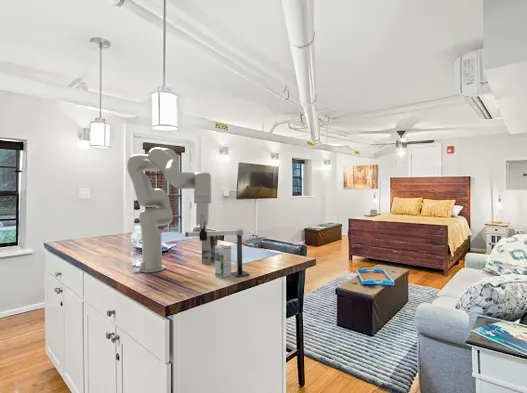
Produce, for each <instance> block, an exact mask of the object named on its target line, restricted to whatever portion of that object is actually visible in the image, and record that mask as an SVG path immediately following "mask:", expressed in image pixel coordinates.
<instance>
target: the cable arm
mask: <svg viewBox="0 0 527 393" xmlns="http://www.w3.org/2000/svg"><path fill="white" fill-rule="evenodd" d="M206 231H207V236H217V237H218V236H237V235H242V236H243V235H244V229H231V230H230V229H228V230H226V229H225V230H206ZM199 232H200V230H199V231H185V234H184V235H185V238H189V237H190V238H191V237H193V238H194V237H195V238H196V237H200V234H199Z"/></svg>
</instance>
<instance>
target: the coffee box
mask: <svg viewBox="0 0 527 393" xmlns="http://www.w3.org/2000/svg"><path fill="white" fill-rule="evenodd" d="M217 245H218V236H207V240H206V241H201V264H203V265H213V264H215V246H217Z"/></svg>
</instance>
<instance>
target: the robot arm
mask: <svg viewBox="0 0 527 393" xmlns="http://www.w3.org/2000/svg"><path fill="white" fill-rule="evenodd" d="M179 168H180V163H179V160H178V156H177V153H176V151H174V149H171V148H165V147H153V148H151V149H150V150H149V151H148V154H142V153H137V154H132V155H131V156H130V157H129V158H128V160H127V172H128V175H129V177H130V179H131V182H132V184H133V188H134V192H135V196H136V199H137V203H138V205H139V206H140V207H141V208H142V207H144V208H145V207H146V209H143V210H141V212H140V213H139V215H138V216H139V217H138V219H139V225H140V230H141V252H142V253H141V254H142V257H141V258H142V260H141V261H140V262H138V263H132V268H133V269H134V268H135V269H137V268H138V270H139V272H141V273H157V272H162V271H164V270H165V269H166V265H164V264H163V257H162V256H163V254H162V252H163V250H162V247H163V246H162V245H163V244H162V232H161V231H160V229H159V227H162V226H168V225H170V224H171V223H172V222H173V219H174V215H173V214H174V213H173V210H172V207H171V203H170V202H171V201H170V198H169V195H168V194H167V192H166V190H164V189H162V188H154V187H153V186H152V182H151V180H150V178H149V176H148V175H147V174H146V172H160V171H162V172H163V176H164V178H165V180H166V182H168V184H170V185H172V186H173V187H174V188H176V189H179V190H182V189H185V190H188V189H189V190H190V189H191V190H193V200H194V204H196V209H195V210H196V212H195V214H196V215H195V216H196V217H195V218H196V219H195V221H196V223H195V225H196V227H197V226H199V231H200V232H199V234H200V236H199V241H200V242H202V241H206V240H207V231H208V230H207V225H208V223H209V207H210V206H209V204H211V203H212V177H211V174H210V173H209V172H204V171H202V172H189V171H188V172H186V171H179ZM148 207H149V208H148ZM150 207H152V208H150Z"/></svg>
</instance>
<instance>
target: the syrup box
mask: <svg viewBox="0 0 527 393" xmlns="http://www.w3.org/2000/svg"><path fill="white" fill-rule="evenodd" d="M214 270H215V271H214V273H215V274H214V275H215V277H219V278H221V279H225V278H227V277H231V276H232V275H231V272H232V246H231V245H227V244H217V246H215V263H214Z"/></svg>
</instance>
